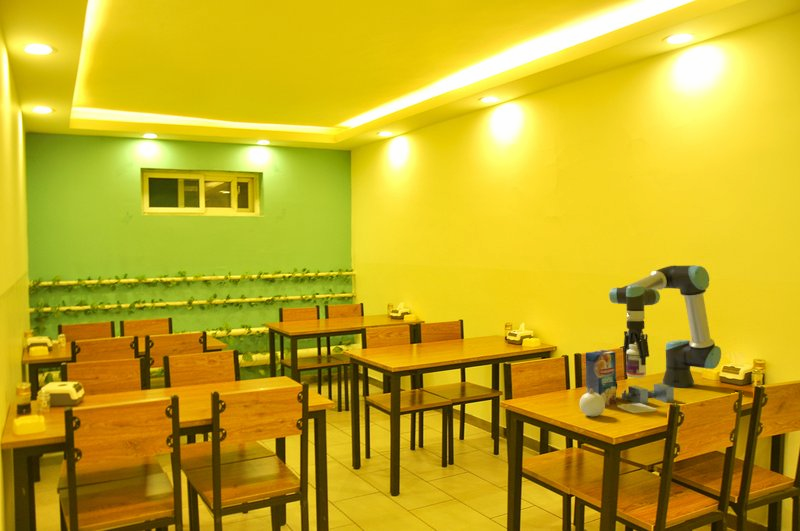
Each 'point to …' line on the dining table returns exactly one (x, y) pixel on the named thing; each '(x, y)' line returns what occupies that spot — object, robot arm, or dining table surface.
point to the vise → (649, 393)
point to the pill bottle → (633, 362)
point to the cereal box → (601, 374)
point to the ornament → (592, 404)
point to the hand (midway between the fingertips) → (636, 370)
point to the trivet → (636, 408)
